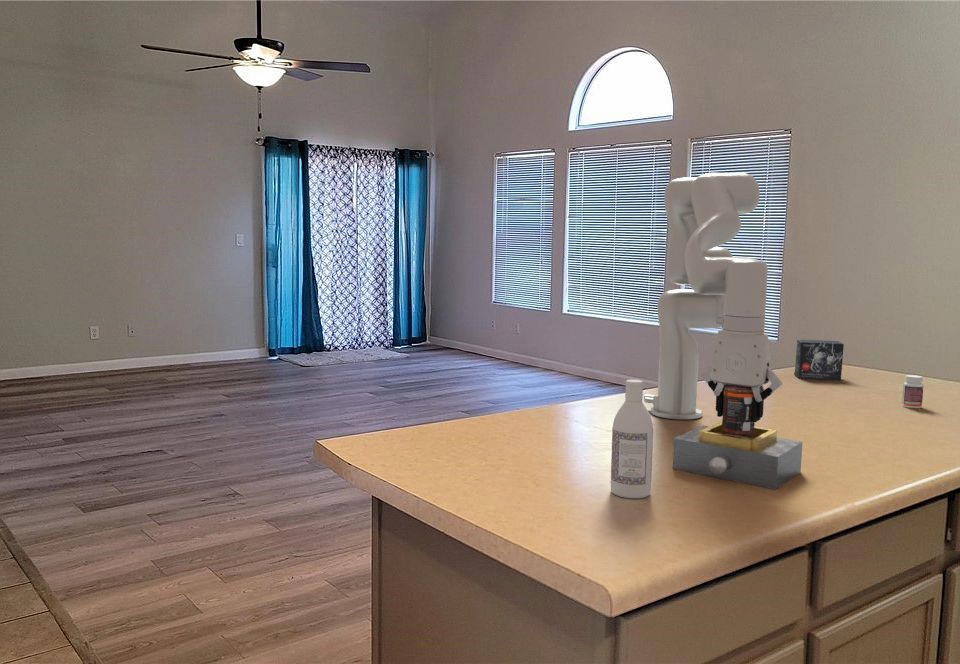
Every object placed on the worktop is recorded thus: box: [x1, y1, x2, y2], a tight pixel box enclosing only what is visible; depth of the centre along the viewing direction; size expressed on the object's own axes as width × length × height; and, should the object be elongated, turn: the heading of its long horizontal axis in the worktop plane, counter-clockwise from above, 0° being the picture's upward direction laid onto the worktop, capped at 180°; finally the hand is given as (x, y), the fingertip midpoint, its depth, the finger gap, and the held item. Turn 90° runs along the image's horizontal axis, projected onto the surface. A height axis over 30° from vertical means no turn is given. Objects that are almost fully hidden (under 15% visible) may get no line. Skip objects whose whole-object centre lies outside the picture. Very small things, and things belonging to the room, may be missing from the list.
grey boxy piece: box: [671, 421, 803, 490], centre depth 155 cm, size 20×17×8 cm
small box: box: [793, 338, 845, 381], centre depth 261 cm, size 13×7×12 cm, turn 80°
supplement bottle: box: [721, 384, 756, 436], centre depth 155 cm, size 6×6×11 cm
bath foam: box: [610, 379, 654, 500], centre depth 140 cm, size 7×7×20 cm
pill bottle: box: [901, 374, 924, 409], centre depth 217 cm, size 5×5×8 cm
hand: (738, 417), depth 155 cm, fingers closed on supplement bottle, 6 cm apart
